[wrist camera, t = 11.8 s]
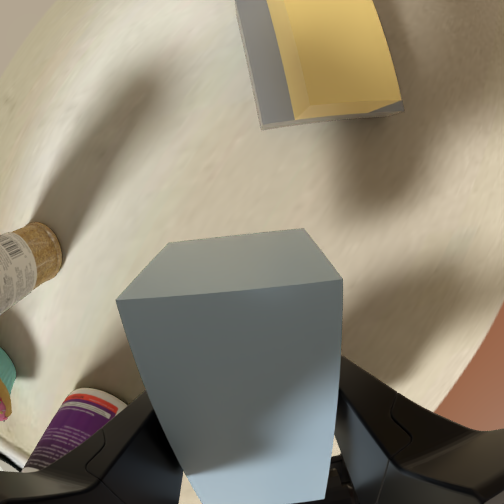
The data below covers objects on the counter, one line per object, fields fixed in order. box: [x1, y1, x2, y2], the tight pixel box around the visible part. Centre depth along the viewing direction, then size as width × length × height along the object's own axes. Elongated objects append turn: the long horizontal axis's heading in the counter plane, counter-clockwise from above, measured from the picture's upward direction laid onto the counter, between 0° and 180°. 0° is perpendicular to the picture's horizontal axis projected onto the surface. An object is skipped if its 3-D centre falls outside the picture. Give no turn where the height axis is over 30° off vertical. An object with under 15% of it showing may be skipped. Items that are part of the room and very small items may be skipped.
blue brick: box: [116, 228, 343, 504], centre depth 8 cm, size 8×4×4 cm, turn 6°
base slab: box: [235, 0, 404, 130], centre depth 15 cm, size 8×8×3 cm
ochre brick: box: [266, 0, 402, 120], centre depth 11 cm, size 8×4×4 cm, turn 11°
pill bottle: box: [22, 388, 127, 473], centre depth 16 cm, size 8×8×14 cm
